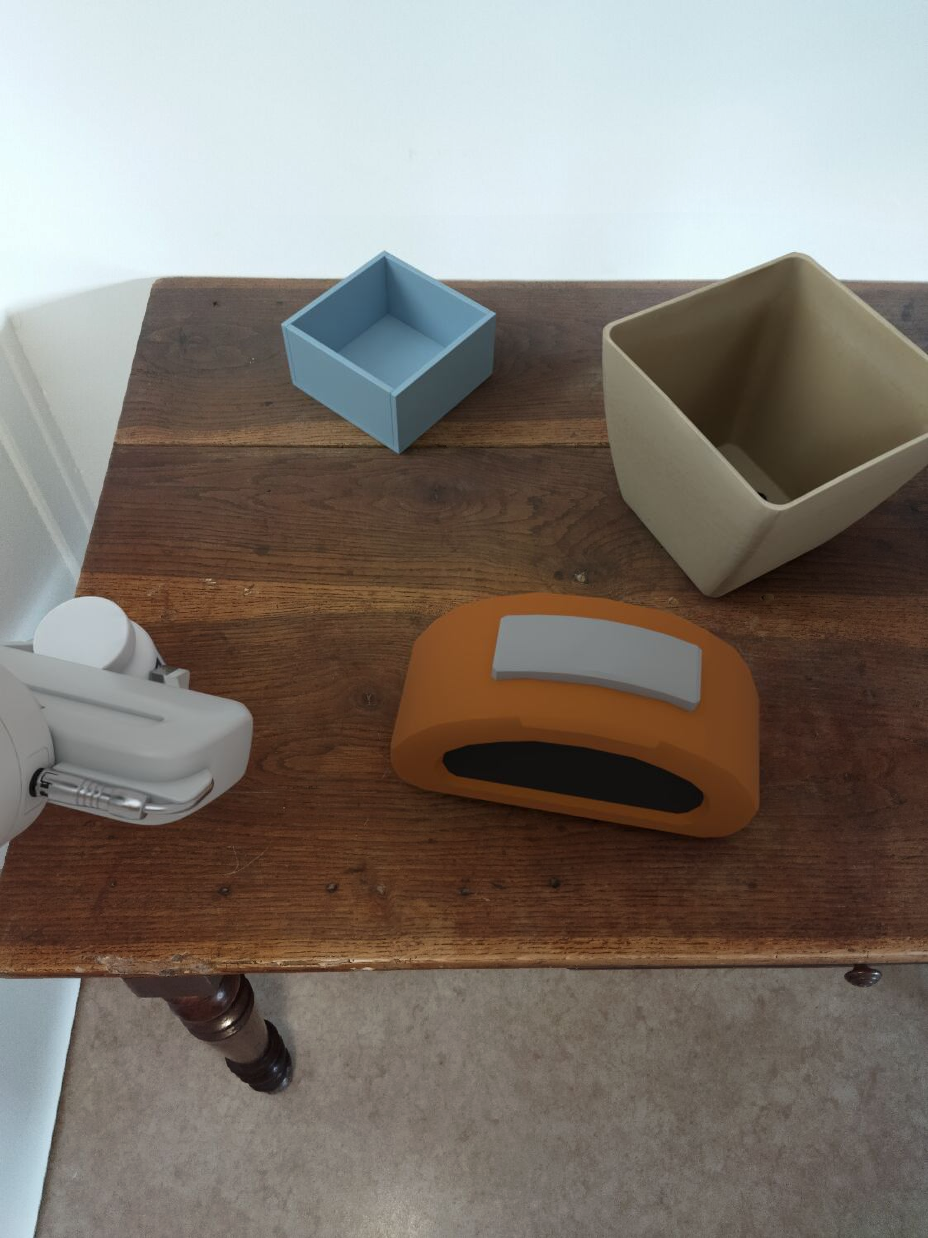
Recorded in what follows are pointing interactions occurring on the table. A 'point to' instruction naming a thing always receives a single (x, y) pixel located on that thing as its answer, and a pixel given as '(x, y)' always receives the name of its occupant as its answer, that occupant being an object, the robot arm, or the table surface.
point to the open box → (390, 349)
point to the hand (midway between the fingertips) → (114, 666)
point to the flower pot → (760, 417)
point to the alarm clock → (582, 714)
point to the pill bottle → (97, 638)
